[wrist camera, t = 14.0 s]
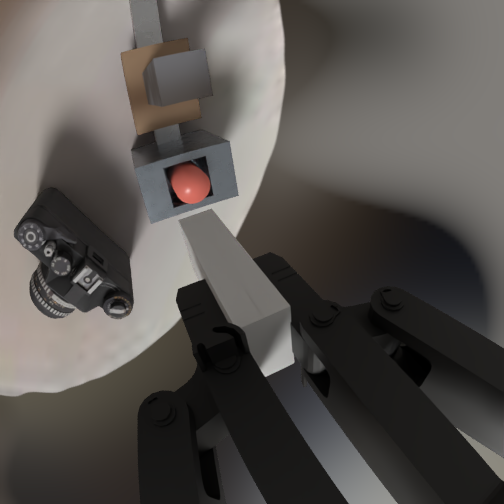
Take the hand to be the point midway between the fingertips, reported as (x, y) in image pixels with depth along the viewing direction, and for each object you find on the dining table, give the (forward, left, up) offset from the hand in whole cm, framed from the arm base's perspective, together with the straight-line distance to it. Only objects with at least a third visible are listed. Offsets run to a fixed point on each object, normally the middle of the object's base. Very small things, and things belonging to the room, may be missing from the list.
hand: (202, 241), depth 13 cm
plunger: (+1, +2, -15) cm, 15 cm away
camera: (+7, -13, -21) cm, 26 cm away
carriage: (-7, +2, -21) cm, 22 cm away
